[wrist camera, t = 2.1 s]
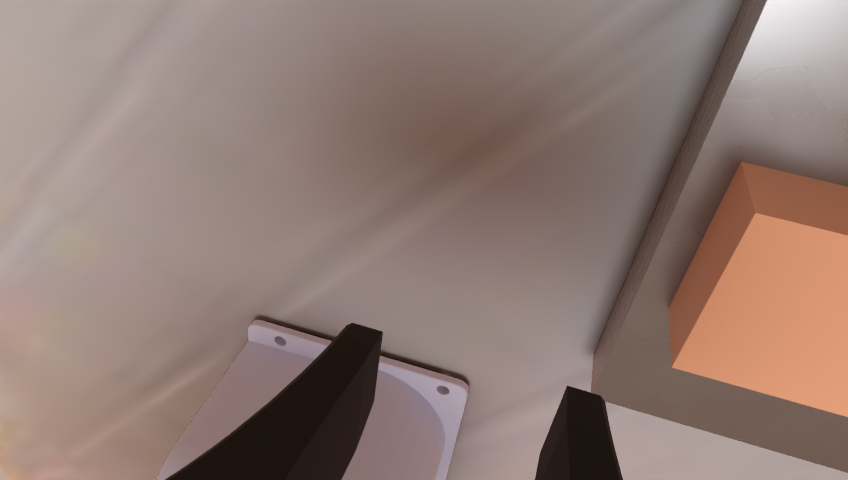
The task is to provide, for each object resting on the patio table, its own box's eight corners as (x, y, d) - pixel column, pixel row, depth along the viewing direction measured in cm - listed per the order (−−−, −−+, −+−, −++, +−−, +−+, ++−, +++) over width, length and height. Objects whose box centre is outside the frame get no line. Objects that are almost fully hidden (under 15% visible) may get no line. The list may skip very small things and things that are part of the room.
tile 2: (668, 308, 19) (671, 367, 17) (740, 161, 16) (755, 213, 14) (846, 357, 18) (871, 424, 16) (958, 212, 15) (1005, 274, 13)
